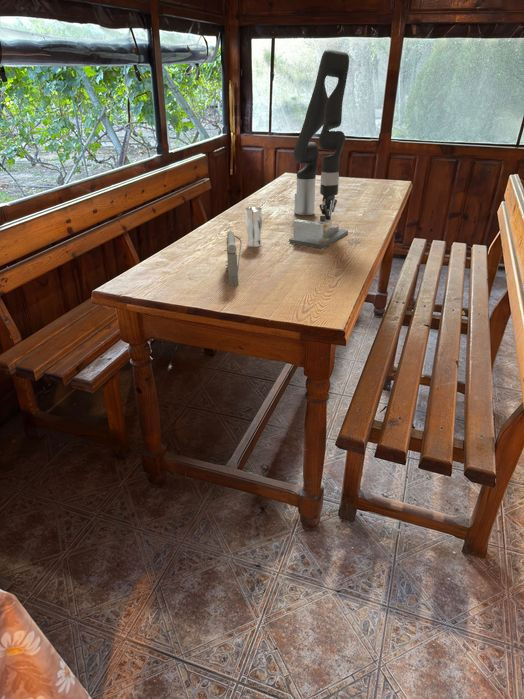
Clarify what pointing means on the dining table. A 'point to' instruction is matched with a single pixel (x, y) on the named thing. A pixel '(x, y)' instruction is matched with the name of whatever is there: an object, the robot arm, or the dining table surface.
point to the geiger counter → (232, 258)
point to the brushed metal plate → (308, 231)
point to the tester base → (325, 238)
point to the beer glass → (253, 225)
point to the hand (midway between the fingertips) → (327, 223)
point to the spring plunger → (325, 223)
